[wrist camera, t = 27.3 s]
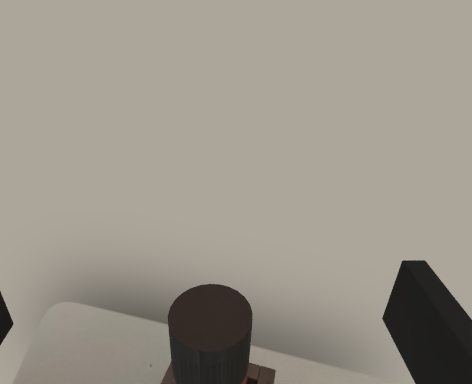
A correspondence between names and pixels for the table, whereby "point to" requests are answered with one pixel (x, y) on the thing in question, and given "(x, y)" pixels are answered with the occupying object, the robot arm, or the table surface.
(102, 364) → the table surface
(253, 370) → the frame
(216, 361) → the deodorant
